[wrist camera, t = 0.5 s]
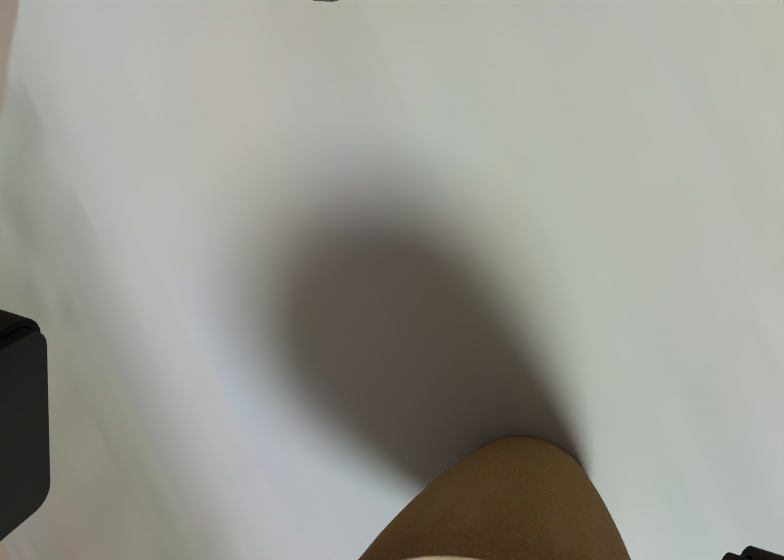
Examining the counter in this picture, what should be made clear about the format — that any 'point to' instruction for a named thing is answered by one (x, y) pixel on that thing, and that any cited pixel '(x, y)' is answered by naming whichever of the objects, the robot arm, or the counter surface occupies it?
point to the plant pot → (505, 510)
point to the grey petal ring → (326, 0)
